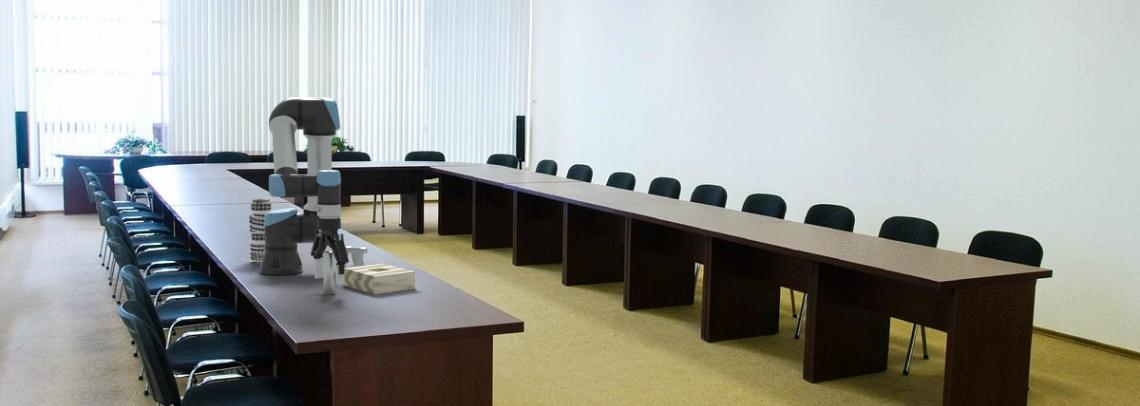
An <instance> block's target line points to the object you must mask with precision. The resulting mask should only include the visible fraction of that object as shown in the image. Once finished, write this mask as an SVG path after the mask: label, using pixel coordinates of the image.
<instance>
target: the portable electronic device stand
mask: <svg viewBox="0 0 1140 406" xmlns="http://www.w3.org/2000/svg"><path fill="white" fill-rule="evenodd" d="M345 248H346V252H347V256H348V257H349V255H350V257H351V260H352V263H353V264H351V265H350V266H347V264H348V263H346V264H345V268H350V267H358V266H365V263H364V256H365V254H367V253H368V252H369V251H368V248H367V247H361V246H360V247H359V246H351V245H350V246H348V245H347V246H345Z"/></svg>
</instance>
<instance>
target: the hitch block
mask: <svg viewBox="0 0 1140 406" xmlns="http://www.w3.org/2000/svg"><path fill="white" fill-rule="evenodd" d="M349 267H350V268H345V273H344V284H342V285H343V286H344V287H348V288H350V289H355V290H358V291H361V292H366V293H369V294H372V295H379V294H380V295H381V294H386V293H387V294H388V293H395V292H401V290H402V291H408V289H409V290H414V288H415V289H416V271H415V270H411V269H407V268H402V267H399V266H393V265H390V264H386V263H377V264H370V265H369V264H368V265H364V266H358V267H351V266H349ZM394 291H395V292H394Z"/></svg>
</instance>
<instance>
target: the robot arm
mask: <svg viewBox="0 0 1140 406" xmlns="http://www.w3.org/2000/svg"><path fill="white" fill-rule="evenodd" d="M268 129H269V132H270V133H271V134H272V135H271V137H272V152H273V170H274V171H273V172H274V173H273V174H270V175H269V177H268V190H269V192H268V193H269V195H270V196H271V197H277V198H295V197H296V198H297V197H299V198H300V197H303V198H304V197H307V202H306V204H304V206H303V208H302V209H303V210H302V211H298V209H297V207H290V208H289V207H287V208H279V209H275V210H272V211H270V212H268V213H266V215H265V223H264V226H265V253H264V256H263V259H262V262H261V263H260V266H259V272H260V274H262V275H268V276H270V275H271V276H284V275H287V276H288V275H297V274H299V273H303V268H304V267H303V263H302V259H301V257H300V254H299V251H298V245H299V244H312V247H311V250H310V251H311V252H310V256H311V257H313V259H314V279H315V280H316V279H323V252H324V251H326V248H327V247H329V248H330V249H331V251H333V254H334V256H335V259H336V285H343V284H344V273H345V264H346V263H347V264H348V263H349V262H350V260H349V255H348V256H347V252H346V244H345V240H344V234H343V233H339V230H341V229H342V218H341V216H342V207H341V205H342V203H341V195H342V194H341V192H342V191H341V190H342V189H341V188H342V187H341V185H342V184H341V182H342V178H341V172H340V171H339V170H337V169H336V170H335V169H332V147H333V146H332V142H333V141H332V140H333V139H334V137H336V136H337V134H336V133H337V131H340V129H341V121H340V113H339V107H338V104H337V101H336V100H335V99H333V98H331V97H330V98H329V97H298V96H297V97H296V96H294V97H293V96H292V97H288V98H286V99H283V100H282V101H280V102H279V103H278V104H277V105H276V106H275V107H274V109H273V110H272V111H271V113H270V115H269V118H268ZM297 130H299V131H300V130H302V134H303V136H304V137H305V138H306V140H307V174H306V173H300V174H299V173H298V163H297V162H298V161H297V147H296V131H297ZM347 264H346V265H347Z"/></svg>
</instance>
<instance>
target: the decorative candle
mask: <svg viewBox="0 0 1140 406" xmlns="http://www.w3.org/2000/svg"><path fill="white" fill-rule="evenodd" d="M270 211H273V210H272V201H271V200H270V199H269V198H267V197H256V198H253V199H252V200H251V201H250V215H249V216H248V219H249V221H248V223H250V225H249V228H250V229H249V233H251V238H250V244H249V246H250V251H251V252H250V253H249V254H250V257H249V258H250V259H251V260H250V263H252V262H262V259H263V256H264V253H265V226H264V223H265V215H266V213H268V212H270Z"/></svg>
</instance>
